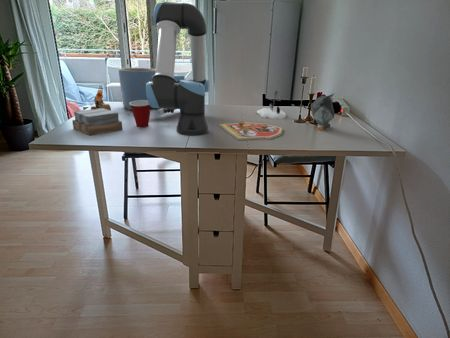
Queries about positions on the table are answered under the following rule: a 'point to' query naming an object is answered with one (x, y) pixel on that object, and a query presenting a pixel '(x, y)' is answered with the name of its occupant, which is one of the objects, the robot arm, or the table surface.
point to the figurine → (272, 110)
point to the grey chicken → (322, 111)
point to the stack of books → (96, 121)
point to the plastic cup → (141, 112)
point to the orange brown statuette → (100, 101)
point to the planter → (134, 84)
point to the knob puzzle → (251, 130)
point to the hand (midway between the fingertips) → (147, 110)
